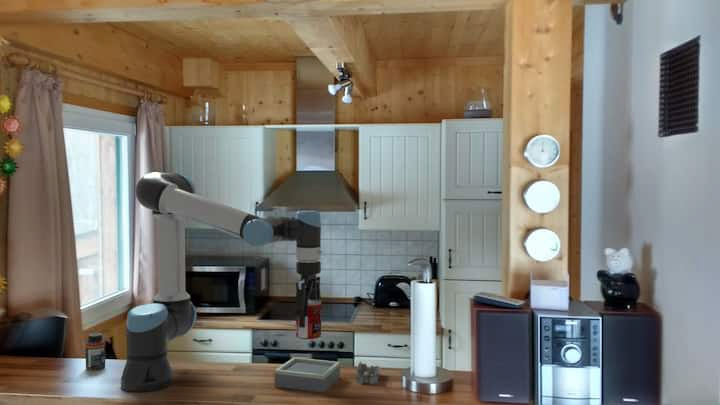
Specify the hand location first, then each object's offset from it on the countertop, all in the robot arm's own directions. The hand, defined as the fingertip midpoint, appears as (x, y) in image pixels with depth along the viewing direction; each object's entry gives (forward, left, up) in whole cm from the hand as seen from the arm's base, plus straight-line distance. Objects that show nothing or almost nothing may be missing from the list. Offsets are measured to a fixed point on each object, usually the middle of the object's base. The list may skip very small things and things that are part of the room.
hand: (308, 334), depth 176 cm
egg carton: (+17, +9, -15) cm, 25 cm away
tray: (0, 0, -15) cm, 15 cm away
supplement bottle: (-72, -10, -15) cm, 74 cm away
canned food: (0, 0, -1) cm, 1 cm away
